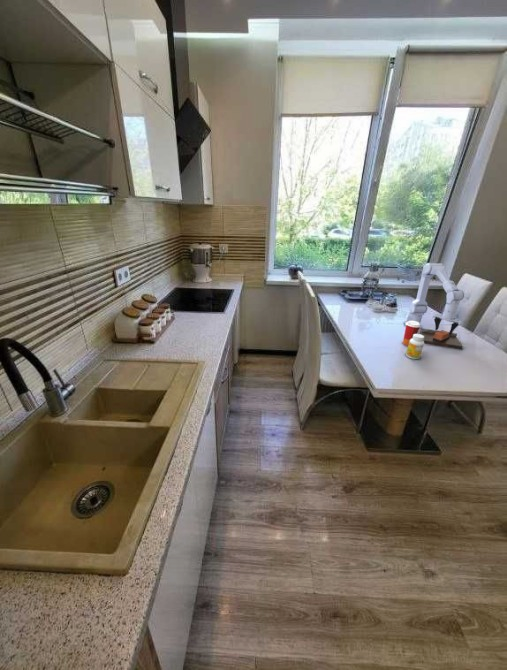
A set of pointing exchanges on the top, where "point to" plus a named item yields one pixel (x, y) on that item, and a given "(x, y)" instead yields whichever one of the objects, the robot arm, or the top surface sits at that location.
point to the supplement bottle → (415, 346)
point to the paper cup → (410, 331)
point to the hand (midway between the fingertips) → (443, 331)
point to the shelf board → (450, 342)
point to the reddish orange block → (441, 336)
